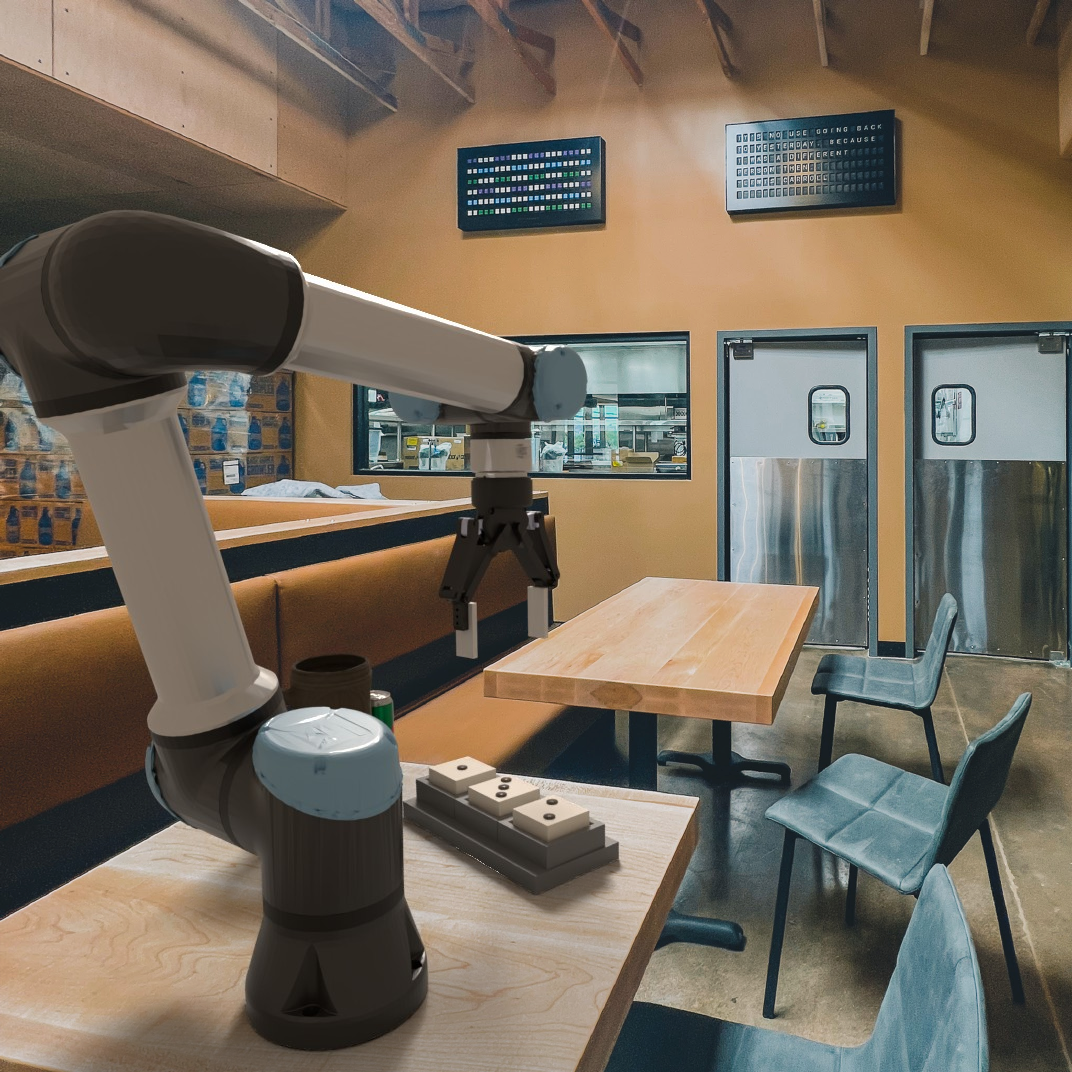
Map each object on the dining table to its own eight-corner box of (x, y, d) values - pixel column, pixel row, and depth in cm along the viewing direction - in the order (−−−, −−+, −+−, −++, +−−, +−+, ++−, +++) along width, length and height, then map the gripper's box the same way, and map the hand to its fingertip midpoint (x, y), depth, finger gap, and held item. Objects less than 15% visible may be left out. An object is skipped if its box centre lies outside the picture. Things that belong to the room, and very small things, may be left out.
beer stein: (354, 787, 122) (339, 645, 119) (402, 809, 114) (387, 657, 111) (249, 830, 111) (230, 675, 108) (294, 857, 104) (274, 691, 100)
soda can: (379, 769, 128) (376, 687, 127) (403, 777, 125) (400, 693, 124) (351, 780, 125) (348, 695, 123) (375, 788, 121) (372, 702, 120)
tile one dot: (456, 800, 108) (456, 779, 108) (429, 786, 112) (428, 766, 112) (496, 788, 112) (495, 767, 111) (468, 774, 116) (467, 755, 116)
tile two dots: (548, 848, 95) (547, 824, 94) (513, 830, 99) (512, 807, 99) (589, 832, 99) (589, 809, 98) (554, 815, 103) (553, 793, 103)
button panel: (535, 895, 92) (535, 853, 92) (403, 816, 112) (402, 781, 112) (618, 859, 100) (618, 820, 99) (481, 791, 120) (480, 758, 119)
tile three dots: (499, 823, 101) (498, 800, 101) (468, 807, 106) (468, 785, 106) (540, 808, 105) (539, 787, 105) (508, 793, 110) (508, 773, 109)
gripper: (453, 478, 97) (456, 670, 99) (586, 472, 117) (586, 633, 119) (405, 478, 102) (409, 661, 104) (540, 472, 121) (542, 626, 123)
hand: (504, 646), depth 111 cm, fingers open, 13 cm apart
